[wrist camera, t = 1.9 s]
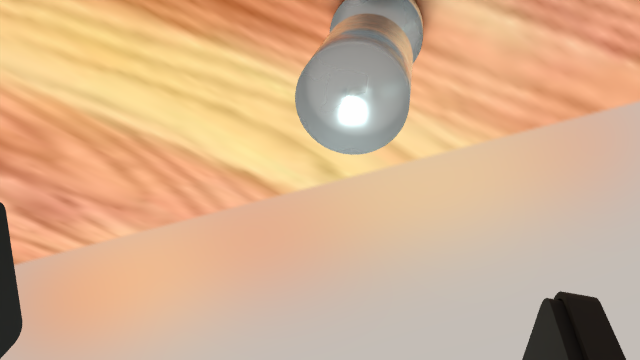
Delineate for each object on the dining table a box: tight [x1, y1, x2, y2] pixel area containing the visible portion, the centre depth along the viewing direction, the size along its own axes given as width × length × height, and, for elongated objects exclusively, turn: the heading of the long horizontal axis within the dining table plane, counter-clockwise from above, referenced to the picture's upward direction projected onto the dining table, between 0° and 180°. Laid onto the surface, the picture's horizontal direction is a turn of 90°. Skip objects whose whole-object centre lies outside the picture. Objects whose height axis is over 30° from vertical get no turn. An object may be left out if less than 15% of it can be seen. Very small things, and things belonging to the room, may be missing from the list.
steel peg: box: [295, 0, 423, 154], centre depth 26 cm, size 5×5×13 cm
